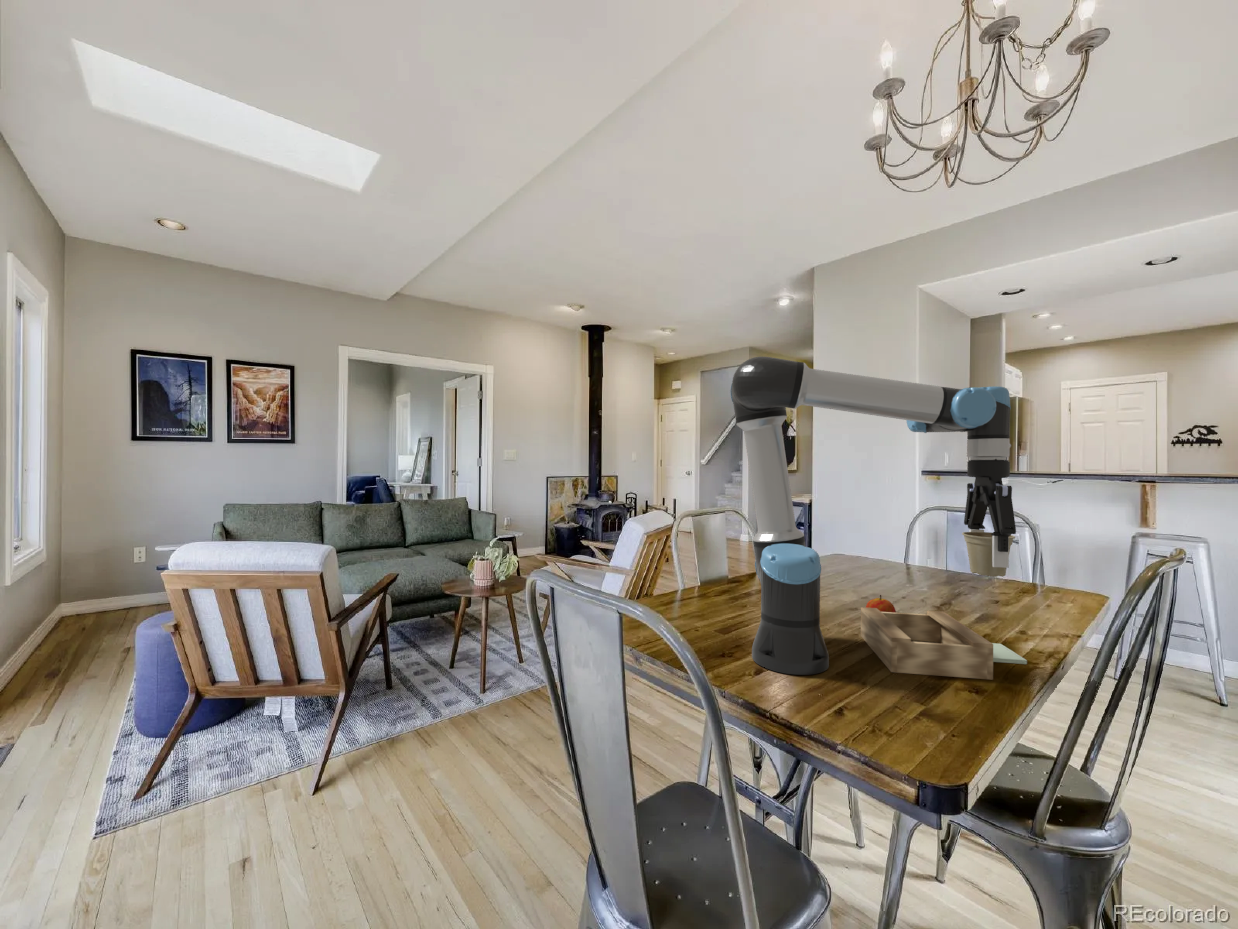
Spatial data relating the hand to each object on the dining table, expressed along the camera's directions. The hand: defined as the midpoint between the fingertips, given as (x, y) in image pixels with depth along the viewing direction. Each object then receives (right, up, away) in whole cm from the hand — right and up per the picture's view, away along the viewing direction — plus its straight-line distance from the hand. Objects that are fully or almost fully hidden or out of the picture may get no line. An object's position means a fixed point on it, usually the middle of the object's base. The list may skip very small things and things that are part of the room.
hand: (988, 562), depth 113 cm
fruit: (-14, -20, +19) cm, 31 cm away
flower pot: (0, -3, 0) cm, 3 cm away
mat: (0, -20, 0) cm, 20 cm away
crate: (-16, -20, -1) cm, 25 cm away
